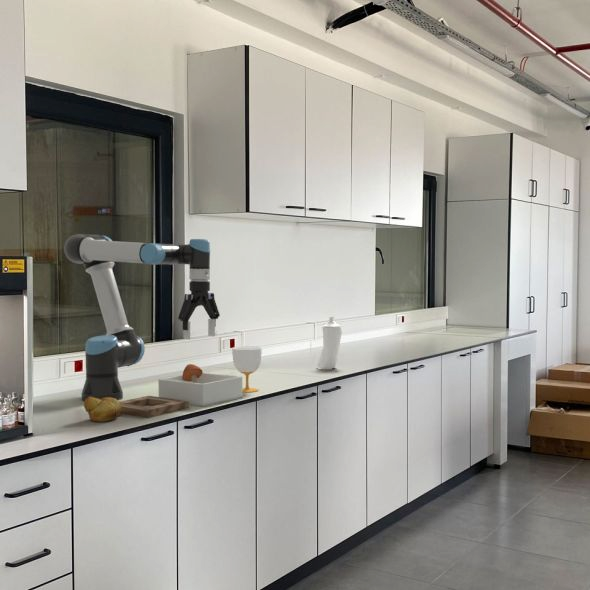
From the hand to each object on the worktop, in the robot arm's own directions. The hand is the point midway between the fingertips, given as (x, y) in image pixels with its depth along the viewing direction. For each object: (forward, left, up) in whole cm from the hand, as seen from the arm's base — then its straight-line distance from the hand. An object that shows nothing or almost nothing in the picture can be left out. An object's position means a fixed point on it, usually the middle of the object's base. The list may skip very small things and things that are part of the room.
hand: (199, 337), depth 281 cm
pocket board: (-20, -16, -23) cm, 34 cm away
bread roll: (-33, -29, -24) cm, 50 cm away
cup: (+20, +15, -23) cm, 34 cm away
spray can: (+69, +69, -23) cm, 100 cm away
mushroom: (0, 0, -22) cm, 22 cm away
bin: (0, 0, -23) cm, 23 cm away
